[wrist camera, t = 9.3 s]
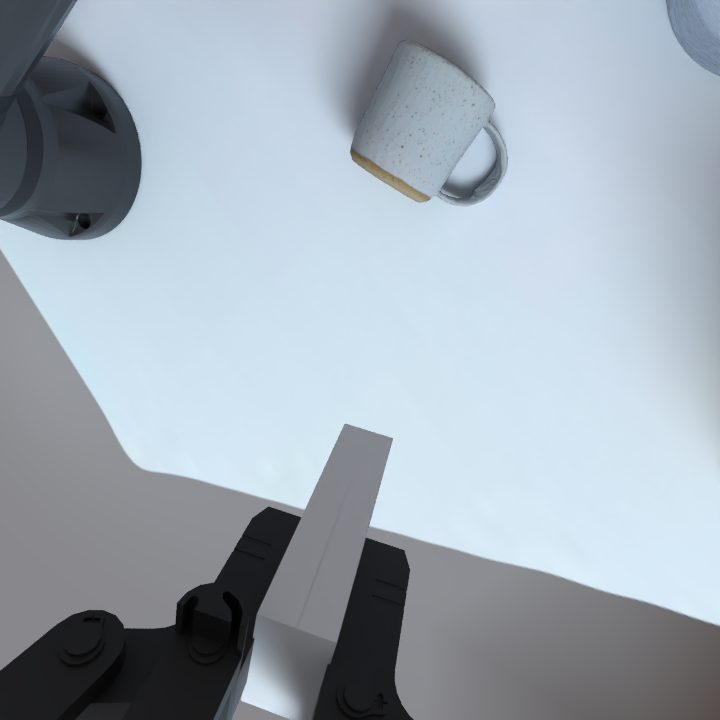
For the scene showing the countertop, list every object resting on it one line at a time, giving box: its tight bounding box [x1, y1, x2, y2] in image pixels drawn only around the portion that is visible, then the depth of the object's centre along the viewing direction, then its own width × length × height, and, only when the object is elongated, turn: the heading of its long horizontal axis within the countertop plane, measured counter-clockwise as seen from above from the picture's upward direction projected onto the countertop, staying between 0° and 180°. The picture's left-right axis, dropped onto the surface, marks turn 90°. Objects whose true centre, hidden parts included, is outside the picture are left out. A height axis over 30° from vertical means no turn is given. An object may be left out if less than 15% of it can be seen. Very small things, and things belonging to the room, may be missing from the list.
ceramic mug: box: [350, 40, 508, 206], centre depth 34 cm, size 11×8×8 cm
